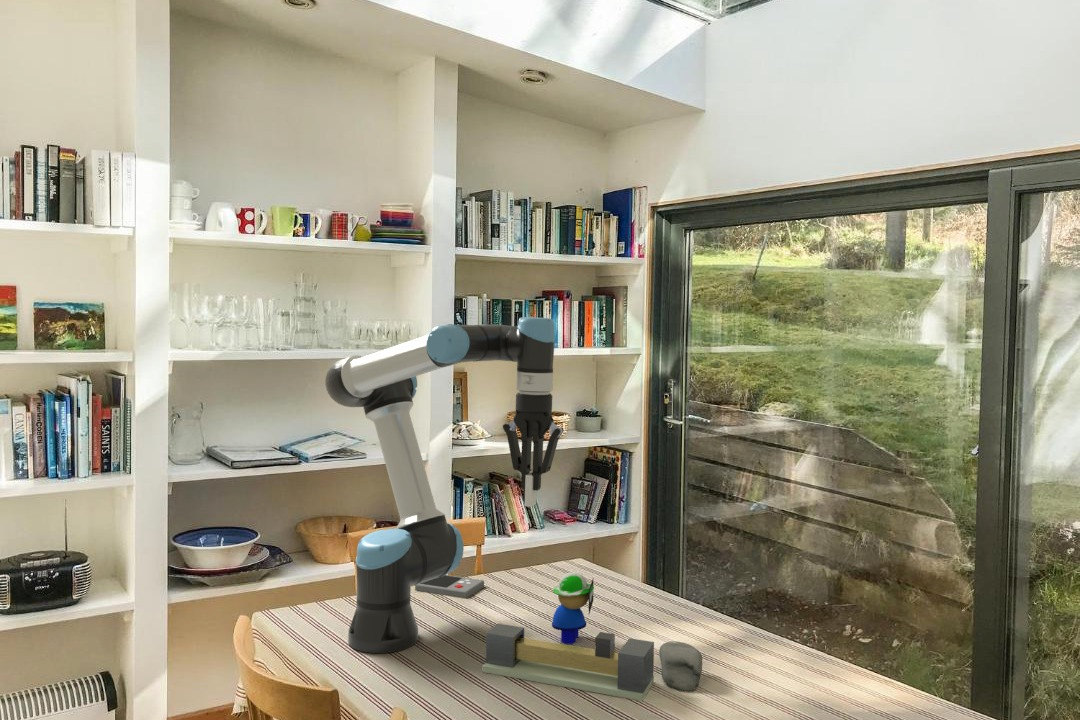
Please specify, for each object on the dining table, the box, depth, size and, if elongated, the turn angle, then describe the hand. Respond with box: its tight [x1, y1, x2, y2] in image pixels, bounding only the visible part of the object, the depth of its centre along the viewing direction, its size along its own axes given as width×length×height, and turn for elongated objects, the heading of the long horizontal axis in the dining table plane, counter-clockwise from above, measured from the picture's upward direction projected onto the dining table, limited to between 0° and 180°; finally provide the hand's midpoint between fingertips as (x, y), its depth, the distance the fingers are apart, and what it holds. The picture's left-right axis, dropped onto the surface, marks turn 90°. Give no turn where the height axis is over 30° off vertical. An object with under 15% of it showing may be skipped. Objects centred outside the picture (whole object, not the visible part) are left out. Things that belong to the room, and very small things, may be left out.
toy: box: [551, 571, 595, 645], centre depth 189 cm, size 9×9×15 cm
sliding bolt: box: [515, 631, 618, 676], centre depth 169 cm, size 28×3×7 cm, turn 69°
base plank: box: [481, 660, 655, 702], centre depth 170 cm, size 33×9×1 cm, turn 69°
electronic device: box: [414, 574, 485, 599], centre depth 223 cm, size 10×2×15 cm
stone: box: [658, 640, 703, 693], centre depth 170 cm, size 9×9×10 cm
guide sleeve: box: [485, 623, 525, 668], centre depth 174 cm, size 6×6×6 cm
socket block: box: [617, 637, 655, 694], centre depth 164 cm, size 5×8×7 cm, turn 159°
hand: (530, 504), depth 177 cm, fingers closed
